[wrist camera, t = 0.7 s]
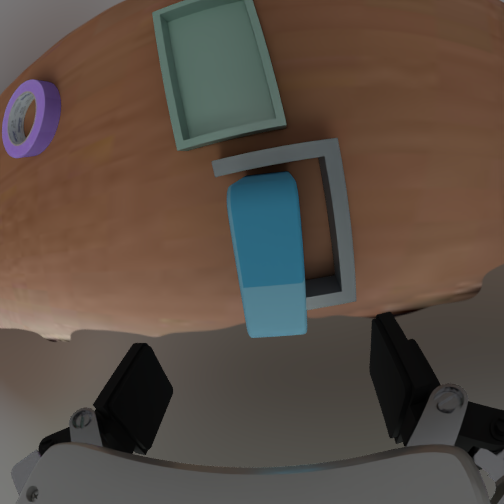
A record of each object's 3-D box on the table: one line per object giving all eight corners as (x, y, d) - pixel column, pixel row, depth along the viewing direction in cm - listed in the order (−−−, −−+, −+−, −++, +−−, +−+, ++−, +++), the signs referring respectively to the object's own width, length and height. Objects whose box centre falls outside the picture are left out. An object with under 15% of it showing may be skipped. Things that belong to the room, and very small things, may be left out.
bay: (329, 140, 25) (337, 137, 22) (348, 284, 31) (356, 301, 27) (220, 160, 27) (211, 161, 23) (253, 299, 32) (250, 318, 29)
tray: (249, -3, 20) (246, -16, 17) (285, 128, 25) (286, 124, 23) (162, 22, 22) (152, 12, 19) (187, 150, 27) (177, 150, 24)
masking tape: (48, 67, 24) (32, 64, 20) (72, 114, 26) (53, 113, 23) (12, 122, 27) (-4, 123, 23) (32, 171, 29) (15, 174, 26)
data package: (298, 276, 31) (307, 342, 20) (259, 279, 32) (249, 346, 20) (288, 170, 27) (297, 179, 16) (245, 175, 28) (223, 188, 16)
